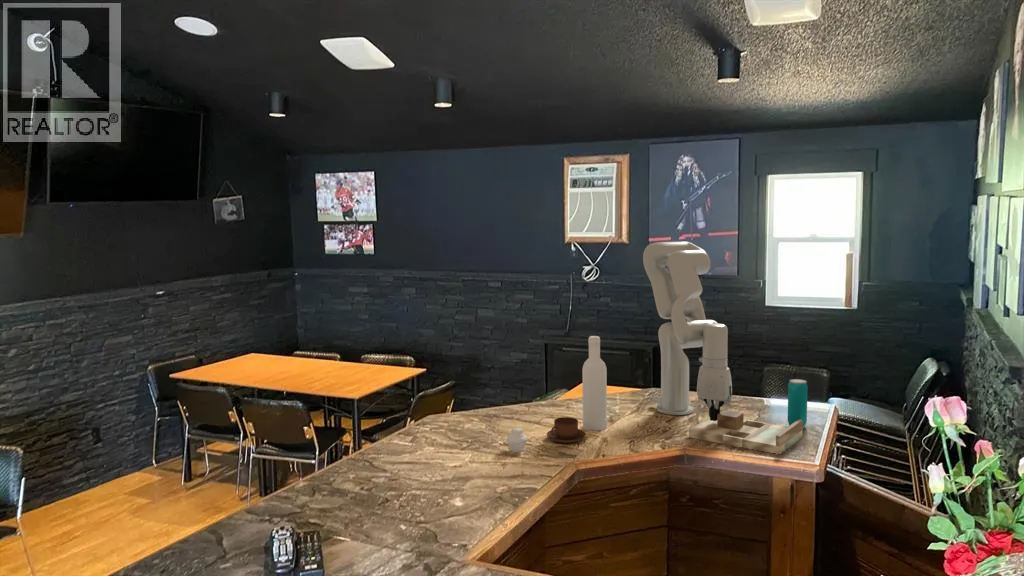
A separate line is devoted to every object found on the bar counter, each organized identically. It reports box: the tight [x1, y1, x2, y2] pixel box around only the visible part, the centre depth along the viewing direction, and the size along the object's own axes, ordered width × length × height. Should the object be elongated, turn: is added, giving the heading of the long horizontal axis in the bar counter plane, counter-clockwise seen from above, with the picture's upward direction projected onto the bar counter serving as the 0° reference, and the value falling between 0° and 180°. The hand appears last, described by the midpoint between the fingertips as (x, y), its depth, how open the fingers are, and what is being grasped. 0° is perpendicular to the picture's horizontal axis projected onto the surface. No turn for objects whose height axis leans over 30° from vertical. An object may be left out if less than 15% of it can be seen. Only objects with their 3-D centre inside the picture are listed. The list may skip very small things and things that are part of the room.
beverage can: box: [787, 378, 809, 429], centre depth 231 cm, size 6×6×15 cm
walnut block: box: [717, 409, 745, 430], centre depth 225 cm, size 6×6×4 cm
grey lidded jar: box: [506, 427, 528, 453], centre depth 213 cm, size 6×6×7 cm
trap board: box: [688, 417, 804, 455], centre depth 222 cm, size 28×20×6 cm
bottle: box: [581, 335, 608, 432], centre depth 234 cm, size 8×8×30 cm
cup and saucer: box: [546, 416, 586, 444], centre depth 223 cm, size 12×12×6 cm
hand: (714, 419), depth 228 cm, fingers closed
